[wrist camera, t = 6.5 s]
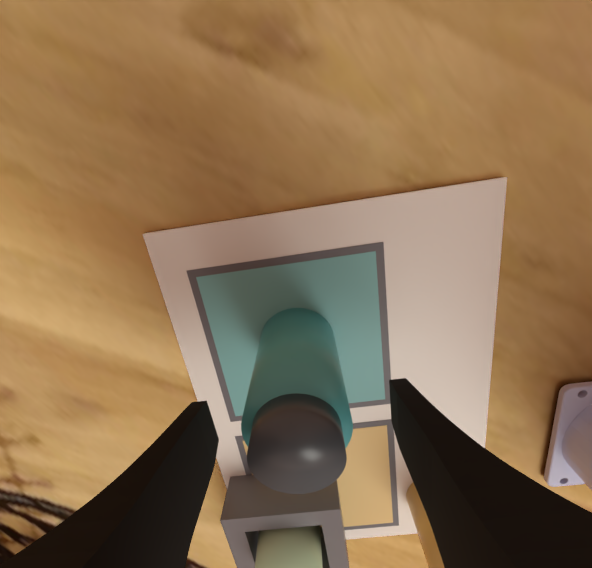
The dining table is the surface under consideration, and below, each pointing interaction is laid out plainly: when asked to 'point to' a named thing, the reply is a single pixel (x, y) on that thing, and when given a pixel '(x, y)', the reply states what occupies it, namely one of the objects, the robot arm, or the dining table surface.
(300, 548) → the button
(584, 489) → the dining table surface
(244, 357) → the picture card
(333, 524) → the button collar
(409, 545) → the dining table surface
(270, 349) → the teal capped bottle
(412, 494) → the tan bottle
